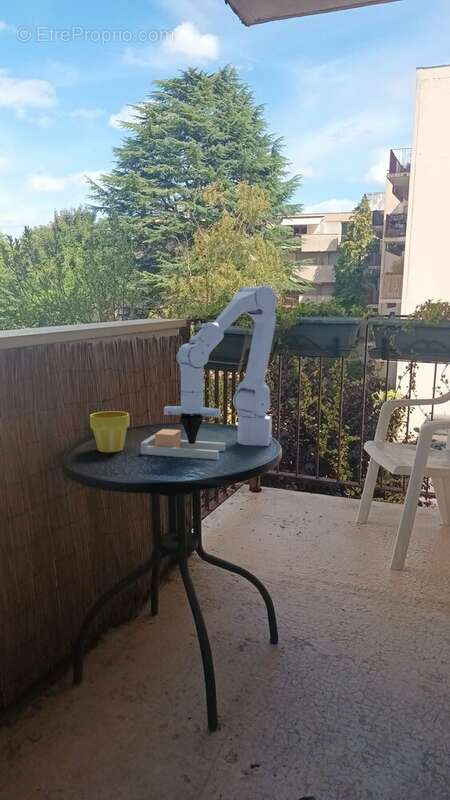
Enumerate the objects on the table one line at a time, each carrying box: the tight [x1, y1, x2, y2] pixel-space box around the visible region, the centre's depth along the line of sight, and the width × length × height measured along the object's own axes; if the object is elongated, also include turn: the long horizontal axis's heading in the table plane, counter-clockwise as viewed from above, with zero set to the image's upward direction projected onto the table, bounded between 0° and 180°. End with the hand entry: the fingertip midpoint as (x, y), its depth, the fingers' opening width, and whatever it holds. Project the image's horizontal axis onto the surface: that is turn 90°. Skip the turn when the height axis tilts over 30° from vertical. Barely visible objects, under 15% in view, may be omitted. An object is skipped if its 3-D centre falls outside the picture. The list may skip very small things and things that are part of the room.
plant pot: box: [89, 410, 130, 453], centre depth 143 cm, size 10×10×10 cm
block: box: [154, 428, 182, 448], centre depth 139 cm, size 5×6×5 cm
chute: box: [140, 434, 227, 460], centre depth 138 cm, size 20×14×4 cm
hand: (192, 443), depth 138 cm, fingers closed
